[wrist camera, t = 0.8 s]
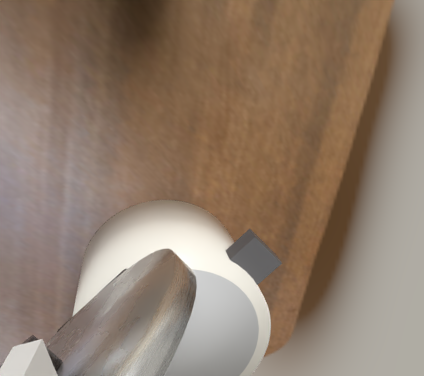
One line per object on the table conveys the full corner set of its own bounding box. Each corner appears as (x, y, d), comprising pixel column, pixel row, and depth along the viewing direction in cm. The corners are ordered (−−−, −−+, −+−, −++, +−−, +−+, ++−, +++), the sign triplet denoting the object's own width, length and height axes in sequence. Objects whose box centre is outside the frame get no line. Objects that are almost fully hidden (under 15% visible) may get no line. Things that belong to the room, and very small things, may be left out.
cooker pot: (28, 294, 43) (-5, 383, 32) (183, 149, 41) (205, 190, 30) (145, 370, 50) (151, 463, 39) (282, 249, 48) (329, 312, 37)
